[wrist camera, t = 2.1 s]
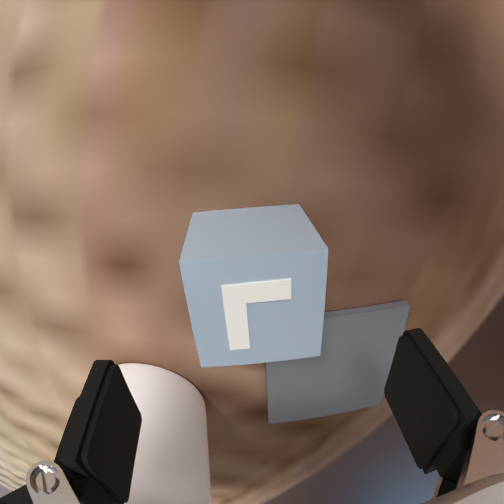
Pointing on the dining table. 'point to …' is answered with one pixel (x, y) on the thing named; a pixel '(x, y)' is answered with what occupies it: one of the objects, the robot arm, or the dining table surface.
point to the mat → (338, 365)
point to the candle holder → (168, 438)
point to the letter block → (254, 285)
